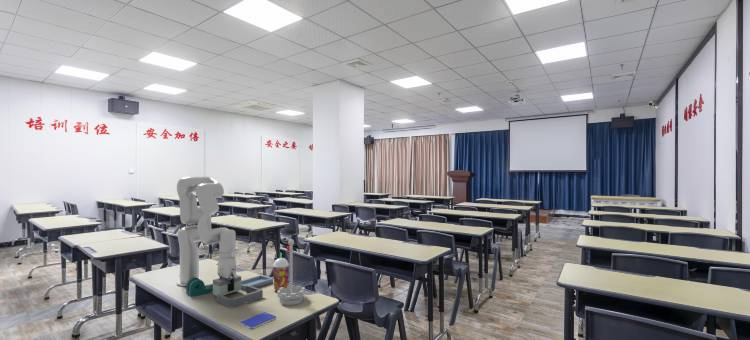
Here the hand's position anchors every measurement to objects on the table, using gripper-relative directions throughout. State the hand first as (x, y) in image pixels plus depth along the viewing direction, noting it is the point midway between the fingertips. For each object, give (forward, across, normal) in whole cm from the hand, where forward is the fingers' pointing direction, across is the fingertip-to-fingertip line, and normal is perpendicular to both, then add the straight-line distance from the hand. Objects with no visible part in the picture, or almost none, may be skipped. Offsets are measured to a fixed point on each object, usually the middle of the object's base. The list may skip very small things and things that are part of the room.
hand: (227, 289), depth 179 cm
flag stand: (+2, +33, +14) cm, 36 cm away
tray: (+3, -1, +17) cm, 17 cm away
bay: (+3, +11, 0) cm, 12 cm away
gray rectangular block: (+1, 0, 0) cm, 1 cm away
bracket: (+3, -13, -3) cm, 14 cm away
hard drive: (+3, +39, -10) cm, 40 cm away
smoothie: (+3, +18, +20) cm, 27 cm away
